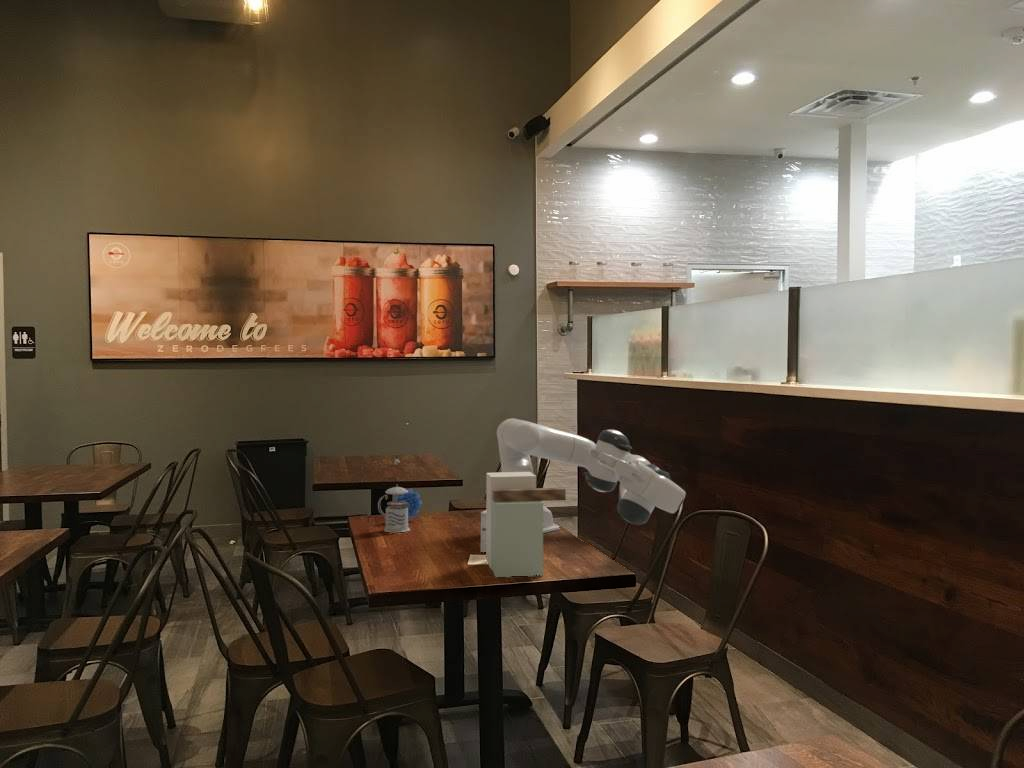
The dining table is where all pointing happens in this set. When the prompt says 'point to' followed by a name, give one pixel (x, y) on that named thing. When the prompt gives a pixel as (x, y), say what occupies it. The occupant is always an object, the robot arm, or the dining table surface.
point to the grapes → (410, 503)
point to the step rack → (513, 528)
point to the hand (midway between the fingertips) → (594, 453)
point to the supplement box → (483, 531)
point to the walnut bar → (529, 494)
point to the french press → (396, 511)
